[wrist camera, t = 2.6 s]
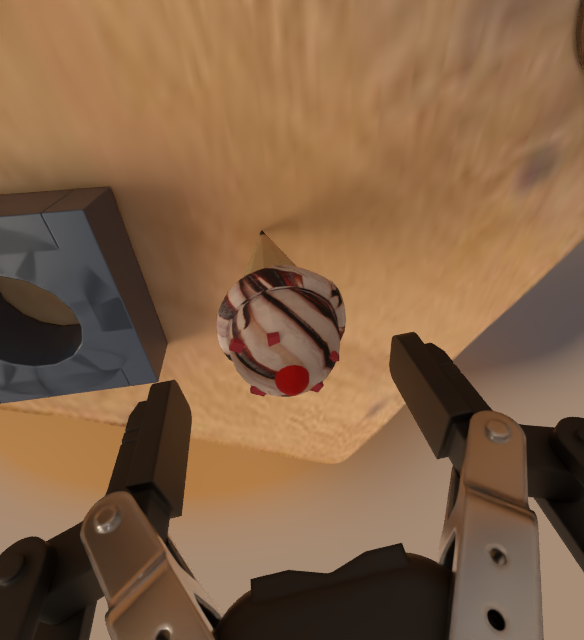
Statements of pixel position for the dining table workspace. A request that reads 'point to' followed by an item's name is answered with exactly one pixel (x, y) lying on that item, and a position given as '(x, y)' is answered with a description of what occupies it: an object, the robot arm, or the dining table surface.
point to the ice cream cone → (281, 324)
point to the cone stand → (75, 298)
